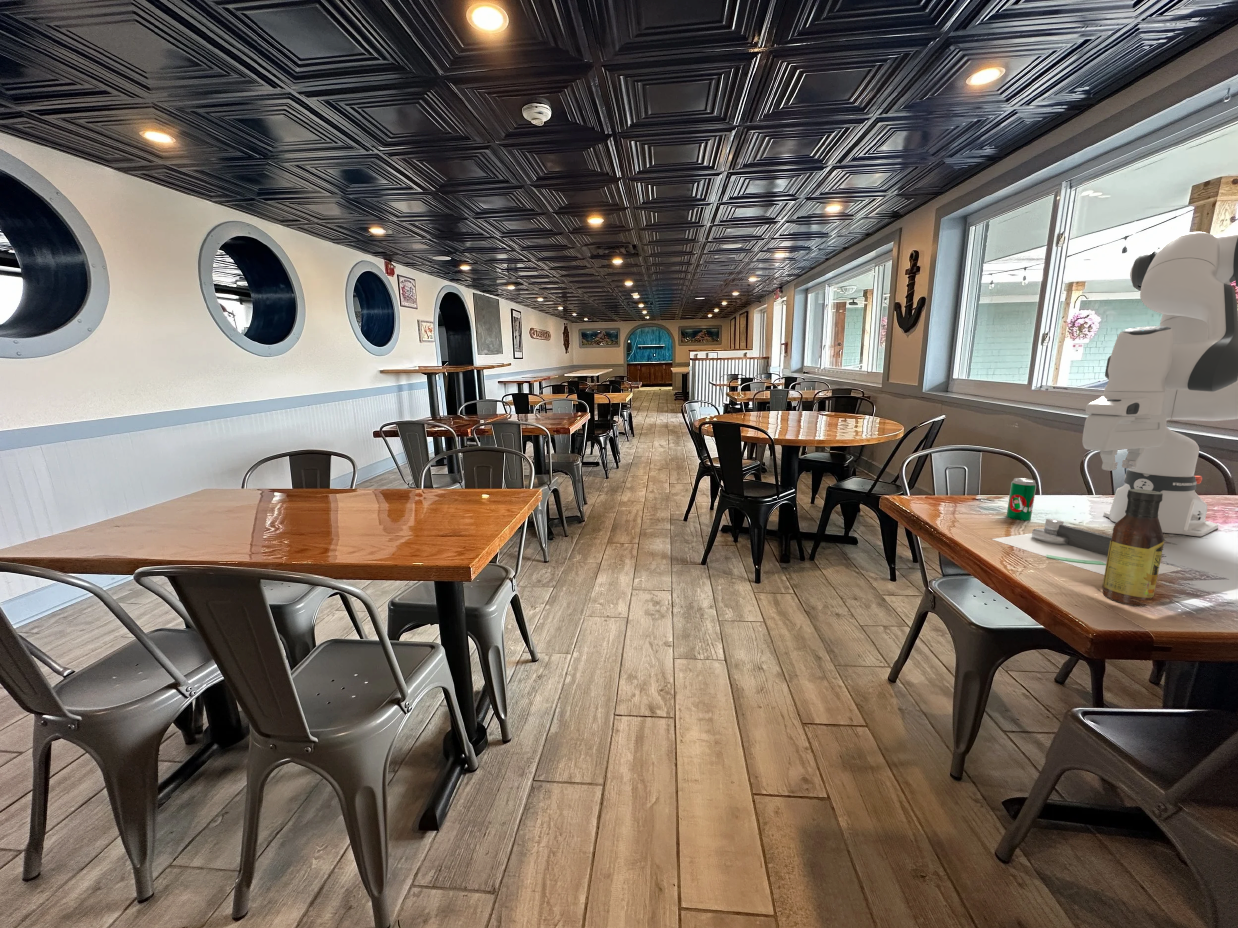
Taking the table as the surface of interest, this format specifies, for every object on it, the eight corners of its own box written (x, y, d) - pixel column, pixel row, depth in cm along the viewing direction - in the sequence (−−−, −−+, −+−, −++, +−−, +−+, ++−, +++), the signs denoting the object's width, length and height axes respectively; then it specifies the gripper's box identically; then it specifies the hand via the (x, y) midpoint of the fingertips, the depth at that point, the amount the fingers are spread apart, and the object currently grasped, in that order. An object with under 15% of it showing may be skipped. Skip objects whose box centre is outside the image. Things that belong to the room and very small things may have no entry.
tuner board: (1044, 537, 116) (1045, 530, 115) (1181, 576, 93) (1183, 568, 93) (988, 545, 110) (989, 538, 110) (1119, 588, 88) (1121, 580, 88)
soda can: (1020, 520, 129) (1027, 477, 127) (1034, 526, 124) (1042, 481, 122) (1001, 519, 129) (1007, 477, 127) (1014, 525, 124) (1021, 481, 122)
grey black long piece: (1024, 536, 111) (1027, 517, 110) (1044, 533, 113) (1047, 515, 112) (1106, 560, 97) (1110, 539, 96) (1129, 556, 99) (1133, 535, 98)
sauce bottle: (1158, 611, 79) (1183, 498, 76) (1106, 602, 83) (1128, 493, 79) (1142, 596, 85) (1165, 489, 81) (1095, 588, 88) (1115, 485, 84)
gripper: (1143, 403, 105) (1131, 463, 108) (1080, 405, 100) (1069, 469, 102) (1183, 404, 99) (1169, 468, 102) (1118, 407, 94) (1105, 475, 96)
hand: (1118, 469), depth 102 cm, fingers open, 5 cm apart
